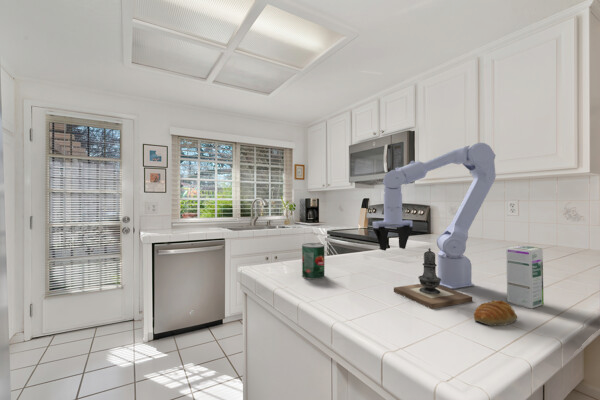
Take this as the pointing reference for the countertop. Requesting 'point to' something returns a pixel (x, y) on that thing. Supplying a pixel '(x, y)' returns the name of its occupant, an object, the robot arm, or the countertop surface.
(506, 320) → the pastry
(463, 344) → the countertop surface
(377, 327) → the countertop surface
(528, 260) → the syrup box
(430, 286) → the salt shaker
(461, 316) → the countertop surface
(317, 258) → the canned tomato
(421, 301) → the walnut board
